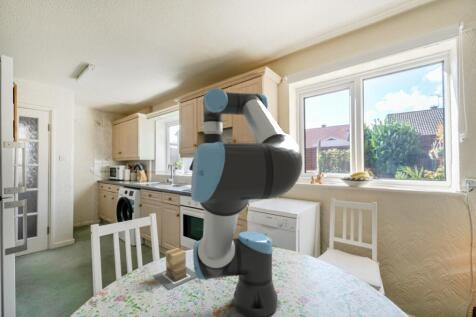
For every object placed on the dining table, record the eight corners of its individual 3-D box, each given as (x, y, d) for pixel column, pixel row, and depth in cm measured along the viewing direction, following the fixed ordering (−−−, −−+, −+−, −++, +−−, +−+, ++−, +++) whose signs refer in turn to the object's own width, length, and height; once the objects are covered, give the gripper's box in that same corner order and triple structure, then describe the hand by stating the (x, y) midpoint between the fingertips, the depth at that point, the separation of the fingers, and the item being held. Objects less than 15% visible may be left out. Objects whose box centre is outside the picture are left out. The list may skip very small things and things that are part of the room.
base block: (186, 276, 91) (186, 267, 91) (175, 281, 88) (175, 271, 88) (176, 269, 97) (176, 261, 97) (166, 274, 94) (166, 264, 94)
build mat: (199, 276, 92) (199, 275, 92) (168, 290, 83) (168, 289, 83) (182, 265, 102) (182, 264, 102) (153, 276, 93) (153, 275, 93)
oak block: (185, 265, 93) (185, 251, 93) (172, 270, 88) (172, 256, 89) (178, 261, 97) (178, 247, 97) (165, 265, 93) (165, 251, 93)
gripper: (229, 136, 97) (230, 184, 97) (179, 132, 80) (180, 190, 79) (241, 135, 92) (242, 185, 92) (190, 130, 74) (191, 192, 74)
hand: (213, 187), depth 85 cm, fingers open, 13 cm apart
